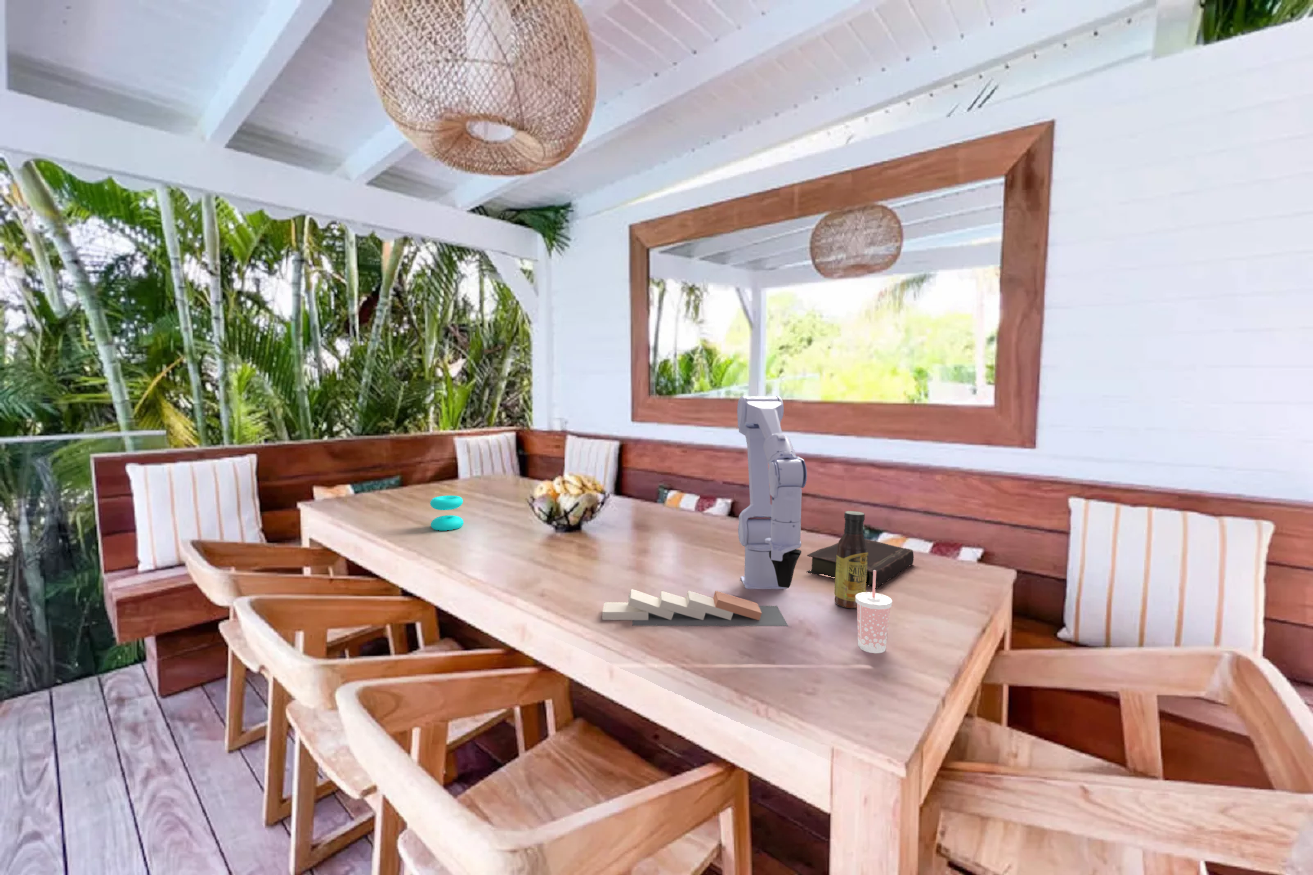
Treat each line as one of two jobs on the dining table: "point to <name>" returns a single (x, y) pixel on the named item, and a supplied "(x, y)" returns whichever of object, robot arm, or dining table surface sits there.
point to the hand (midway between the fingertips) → (784, 586)
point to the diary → (879, 558)
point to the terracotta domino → (737, 605)
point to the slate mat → (717, 619)
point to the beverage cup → (872, 619)
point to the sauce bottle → (851, 561)
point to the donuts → (449, 520)
